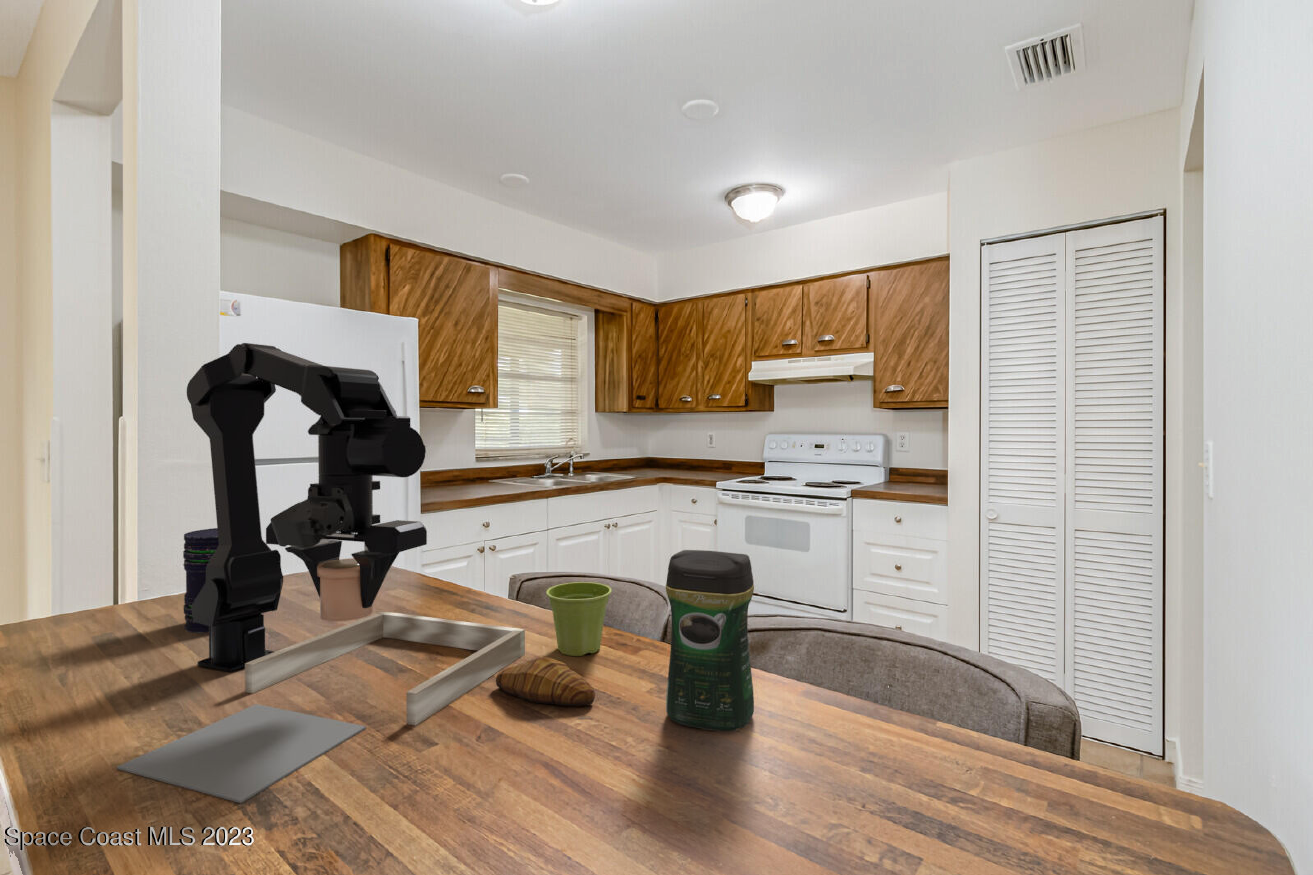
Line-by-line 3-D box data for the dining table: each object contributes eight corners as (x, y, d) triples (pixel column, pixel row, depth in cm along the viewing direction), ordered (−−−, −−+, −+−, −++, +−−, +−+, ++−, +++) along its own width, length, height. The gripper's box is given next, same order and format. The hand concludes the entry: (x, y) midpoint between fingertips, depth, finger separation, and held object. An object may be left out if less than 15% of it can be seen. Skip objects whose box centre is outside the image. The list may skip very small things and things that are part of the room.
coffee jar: (759, 709, 71) (761, 548, 71) (743, 741, 64) (745, 562, 64) (680, 695, 75) (681, 542, 75) (656, 724, 68) (657, 554, 67)
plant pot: (600, 664, 85) (601, 600, 85) (536, 658, 87) (536, 596, 86) (618, 640, 94) (618, 583, 94) (559, 636, 96) (559, 580, 96)
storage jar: (172, 626, 100) (171, 533, 99) (239, 610, 108) (239, 525, 108) (201, 637, 94) (200, 539, 94) (269, 620, 103) (268, 530, 102)
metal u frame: (245, 692, 75) (244, 663, 75) (382, 633, 96) (382, 611, 96) (415, 725, 67) (415, 693, 67) (524, 653, 88) (525, 629, 88)
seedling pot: (304, 619, 72) (304, 567, 72) (346, 604, 78) (346, 556, 77) (348, 624, 70) (347, 571, 70) (387, 609, 76) (386, 559, 76)
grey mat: (116, 768, 58) (116, 766, 58) (256, 705, 72) (256, 703, 72) (240, 803, 53) (240, 801, 53) (366, 728, 66) (366, 726, 66)
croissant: (479, 699, 74) (479, 657, 74) (514, 678, 80) (514, 639, 80) (578, 721, 69) (578, 676, 68) (606, 697, 75) (607, 655, 75)
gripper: (221, 477, 68) (222, 617, 69) (358, 482, 63) (359, 635, 63) (305, 470, 79) (306, 592, 79) (429, 474, 73) (429, 605, 74)
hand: (346, 605), depth 74 cm, fingers closed on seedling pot, 6 cm apart
